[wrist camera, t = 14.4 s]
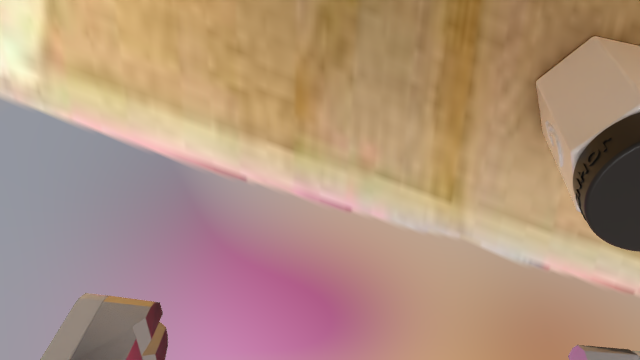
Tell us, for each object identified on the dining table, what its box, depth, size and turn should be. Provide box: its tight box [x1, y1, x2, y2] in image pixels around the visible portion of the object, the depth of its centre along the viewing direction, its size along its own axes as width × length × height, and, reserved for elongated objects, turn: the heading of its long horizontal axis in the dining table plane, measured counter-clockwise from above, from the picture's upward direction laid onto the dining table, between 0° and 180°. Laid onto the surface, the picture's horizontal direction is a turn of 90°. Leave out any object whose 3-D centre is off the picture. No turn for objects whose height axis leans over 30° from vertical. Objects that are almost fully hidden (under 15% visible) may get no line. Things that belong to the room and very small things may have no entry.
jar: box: [536, 36, 640, 251], centre depth 33 cm, size 9×8×12 cm
